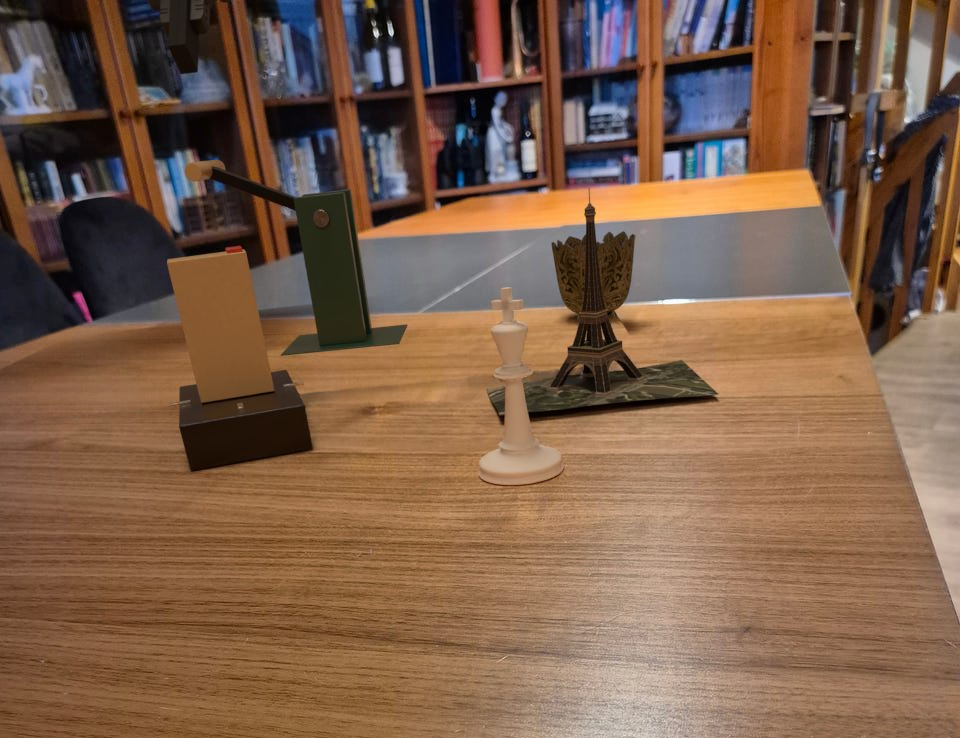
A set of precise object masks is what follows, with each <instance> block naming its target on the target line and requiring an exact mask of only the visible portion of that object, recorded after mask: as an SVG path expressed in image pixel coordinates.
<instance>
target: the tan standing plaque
mask: <svg viewBox="0 0 960 738" xmlns="http://www.w3.org/2000/svg"><path fill="white" fill-rule="evenodd" d="M224 249H225V251H219V252H211V253H205V254H197V255H189V256H183V257H175V258H167V261H166V265H167V269H168V274H169V278H170V282H171V286H172V289H173V295H174V297H175V303H176V305H177V310H178V314H179V318H180V322H181V327H182V330H183V334H184V339H185V342H186V346H187V351H188V355H189V360H190V363H191V367H192V372H193V376H194V380H195V384H197V388H198V392H199V396H200V400H201V403H206V402H212V401H218V400H224V399H230V398H236V397H242V396H248V395H254V394H260V393H267V392H273V391H274V385H273V380H272V375H271V372H272V371H271V366H270V361H269V357H268V352H267V346H266V343H265V337H264V333H263V327H262V323H261V318H260V313H259V308H258V304H257V303H258V302H257V298H256V293H255V288H254V282H253V279H252V278H253V277H252V273H251V268H250V264H249V259H248V256H247V251H246V250H245V249H243V247H242V246H241V245H235V246H227V247H225V248H224Z"/></svg>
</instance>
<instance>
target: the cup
mask: <svg viewBox="0 0 960 738" xmlns="http://www.w3.org/2000/svg"><path fill="white" fill-rule="evenodd" d="M596 243H597V253H598V262H599V271H600V280H601V287H602V293H603V299H604V303H605V308H606V309H608V311H607V315H608V318H609V320H613V319H614V318H616V314H615V312H614V311H616V310H618V309H619V308H621V307H622V305H623V304H624V303H625V302H626V300H627V298H628V296H629V293H630V289H631V283H632V276H633V266H634V257H635V256H634V255H635V243H636V234H634V233H631V234H630V235H629V236H628V234H627V232H626V231H624V230H623V231H621V232H619V233H617V234H616V235H614V233H612V232H611V231H607V233H606V234H604V236H603V238H602V242H599V241H596ZM551 250H552V256H553V263H554V269H555V276H556V280H557V287H558V290H559V294H560V298H561V300H562V302H563V304H564V306H565V307H566V308H567V309H568V310H570V311H571V312H572V313H575V314H577V317H576V321H578V322H579V321H580V317H581V316H580V314H579V312H581V311H582V304H583V295H584V282H585V253H586V234H584V235H583V237H582V239H580V238H578V237H575V236H572V235H569V236H568V237H567V238H566V240H565V242H564V243H563V241H562V240H560V239H557V240H556V242H554V241H552V242H551Z"/></svg>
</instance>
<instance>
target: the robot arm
mask: <svg viewBox="0 0 960 738" xmlns="http://www.w3.org/2000/svg"><path fill="white" fill-rule="evenodd" d="M146 1H147V4H148V6H149V8H150V9H151V11H154V12H157V11H159V21H160V23H161V26H162V28H163V30H164V32H165V35H166V37H167V38H168V39H167V42H168V43H167V48H168V50H169V52H170V54H171V56H172V58H173V60H174V62H175V65H176V67H177V70H178V71H179V73H180V75H185V74H195V73H198V72H199V46H200V36H201V35H206V34H208V33H209V30H210V21H211V19H210V18H211V9H212V6H213V3H214V2H217V1H218V0H146ZM230 1H231V0H219V2H221V3H224V4H225V3H226V4H227V3H229V2H230Z"/></svg>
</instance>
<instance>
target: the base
mask: <svg viewBox="0 0 960 738" xmlns="http://www.w3.org/2000/svg"><path fill="white" fill-rule="evenodd" d="M271 375H272V380H273V385H274V391H273V392H267V393H260V394H254V395H248V396H242V397H236V398H230V399H224V400H218V401H212V402H206V403H201V400H200V396H199V392H198V388H197V384H196V383H194V384H189V385H182V386H179V390H178V391H179V392H178V394H179V396H178V400H179V401H174V402H169V404H168V405H169V407H176V406H178V407H179V408H178V428H179V432H180V436H181V440H182V443H183V447H184V452H185V454H186V455H185V456H186V459H187V462H188V466H189V470H190V471H191V472H193V471H197V470H204V469H209V468H215V467H216V468H217V467H222V466H227V465H233V464H238V463H243V462H249V461H254V460H255V461H256V460H261V459H265V458H271V457H272V458H273V457H277V456H278V457H279V456H284V455H288V454H294V453H301V452H305V451H312V450H313V449H314V445H313V441H312V436H311V429H310V426H309V420H308V414H307V410H306V405H305V402H304V401H303V399H302V397H301V395H300V393H299V391H298V389H297V388H296V387H297V386H304V385H305V384H304V381H297V382H293V379H292V378H291V375H290V373H289V372H288V370H287V369H282V370H275V371H271Z"/></svg>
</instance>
